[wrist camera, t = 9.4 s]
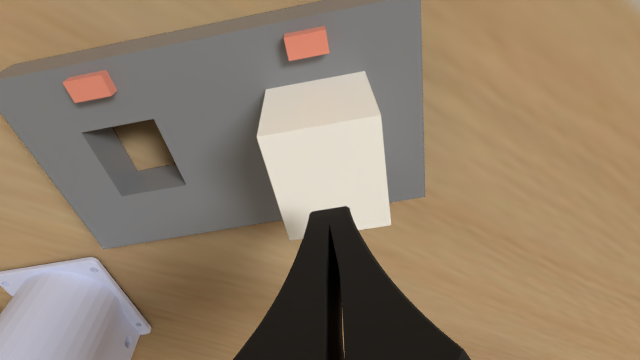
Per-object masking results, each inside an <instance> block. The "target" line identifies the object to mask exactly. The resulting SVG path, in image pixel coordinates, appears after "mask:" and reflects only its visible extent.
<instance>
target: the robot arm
mask: <svg viewBox="0 0 640 360" xmlns="http://www.w3.org/2000/svg"><path fill="white" fill-rule="evenodd" d="M0 286H2V287H3V288H4V289H5V290H6V291H7V292H8V293H9V294H10V295H11V296H12V299H11V300H10V302H9V303H8V304H7V306H6V307H5V308H4V310H3V311H2V312H1V314H0V360H131V358H132V355H133V352H134V350H135V347H136V345H137V342H138V339H139V337H140V335H144V334H149V333H150V331H151V326H150V325H149V324H148V322H147V321H146V320H145V319H144V317H143V316H142V315H141V314H140V312H139V311H138V310H137V308H136V307H135V306H134V305H133V303H132V302H131V301H130V300H129V298H128V297H127V296H126V294H125V293H124V292H123V291H122V289H121V288H120V287H119V286H118V284H117V283H116V282H115V280H114V279H113V278H112V277H111V275H110V274H109V273H108V272H107V270H106V269H105V268H104V266H103V265H102V264H101V263H100V261H99V260H98V259H96V258H94V257H87V258H81V259H75V260H69V261H63V262H57V263H50V264H44V265H38V266H32V267H26V268H19V269H13V270H7V271H1V272H0ZM342 311H343V329H344V349H343V335H342ZM344 351H345V358H344ZM233 360H471V359H470V358H469V356H468V355H467V353H466V352H465V351H464V349H463V348H461V347H460V346H459V345H458V344H457V343H455V342H454V341H453V340H452V339H450V338H449V337H448V336H447V335H446V334H444V333H443V332H442V331H441V330H440V329H439V328H437V327H436V326H435V325H434V324H433V323H432V322H431V321H430V320H429V319H428V318H426V317H425V316H424V315H423V314H422V313H421V312H420V311H419V310H418V309H417V308H416V307H415V306H414V305H413V304H412V303H411V302H410V301H409V300H408V299H407V297H406V296H405V295H404V294H403V293H402V292H401V291H400V290H399V288H398V287H397V286H396V285H395V284H394V283H393V281H392V280H391V279H390V278H389V277H388V275H387V274H386V273H385V271H384V270H383V269H382V267H381V266H380V265H379V263H378V262H377V260H376V259H375V258H374V256H373V255H372V253H371V251H370V250H369V248H368V247H367V245H366V243H365V242H364V240H363V238H362V237H361V235H360V233H359V231H358V229H357V227H356V225H355V223H354V220H353V218H352V215H351V212H350V208H349V207H347V206H343V207H337V208H331V209H325V210H318V211H312V212H311V213H310V214H309V219H308V223H307V227H306V230H305V234H304V237H303V240H302V243H301V245H300V248H299V251H298V253H297V256H296V258H295V261H294V263H293V265H292V267H291V270H290V272H289V274H288V276H287V278H286V280H285V282H284V284H283V286H282V288H281V290H280V292H279V294H278V296H277V297H276V299H275V301H274V303H273V304H272V306H271V307H270V309H269V311H268V312H267V314H266V315H265V317H264V319H263V320H262V322H261V323H260V325H259V326H258V327H257V329H256V330H255V332H254V333H253V334H252V336H251V337H250V338H249V340H248V341H247V342H246V344H245V345H244V346H243V348H242V349H241V350H240V352H239V353H238V354H237V355H236V356H235V358H234V359H233Z"/></svg>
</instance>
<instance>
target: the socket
mask: <svg viewBox="0 0 640 360" xmlns="http://www.w3.org/2000/svg"><path fill="white" fill-rule="evenodd" d="M362 71H365V73H366V76H367V78H368V81H369V84H370V86H371V89H372V92H373V95H374V97H375V100H376V103H377V105H378V108H379V111H380V114H381V120H382V131H383V142H384V153H385V164H386V175H387V186H388V197H389V203H390V202H396V201H402V200H408V199H415V198H421V197H425V166H424V122H423V79H422V36H421V0H323V1H319V2H314V3H309V4H304V5H299V6H294V7H290V8H285V9H280V10H275V11H270V12H266V13H261V14H256V15H251V16H246V17H241V18H237V19H232V20H227V21H222V22H217V23H212V24H208V25H203V26H198V27H193V28H188V29H183V30H179V31H174V32H169V33H164V34H159V35H154V36H150V37H145V38H140V39H135V40H130V41H125V42H121V43H116V44H111V45H106V46H101V47H97V48H92V49H87V50H82V51H77V52H72V53H68V54H63V55H58V56H53V57H48V58H43V59H39V60H34V61H29V62H24V63H19V64H14V65H11V66H10V67H8V68H6V69H4V70H3V71H1V72H0V113H1V114H2V116H3V117H4V118H5V119H6V121H7V122H8V123H9V125H10V126H11V127H12V129H13V130H14V131H15V133H16V134H17V135H18V137H19V138H20V139H21V141H22V142H23V143H24V145H25V146H26V147H27V149H28V150H29V151H30V153H31V154H32V155H33V157H34V158H35V159H36V161H37V162H38V163H39V164H40V166H41V167H42V168H43V170H44V171H45V172H46V174H47V175H48V176H49V178H50V179H51V180H52V182H53V183H54V184H55V186H56V187H57V188H58V190H59V191H60V192H61V194H62V195H63V196H64V198H65V199H66V200H67V202H68V203H69V204H70V206H71V207H72V208H73V209H74V211H75V212H76V213H77V215H78V216H79V217H80V219H81V220H82V221H83V223H84V224H85V225H86V227H87V228H88V229H89V231H90V232H91V233H92V235H93V236H94V237H95V239H96V240H97V241H98V243H99V244H100V245H101V247H102V248H103V249H108V248H114V247H120V246H126V245H132V244H138V243H144V242H151V241H157V240H163V239H169V238H175V237H181V236H187V235H194V234H200V233H206V232H212V231H218V230H224V229H230V228H237V227H243V226H249V225H255V224H261V223H267V222H273V221H280V220H283V218H282V215H281V212H280V209H279V206H278V203H277V199H276V196H275V193H274V190H273V187H272V184H271V181H270V178H269V174H268V171H267V168H266V165H265V162H264V159H263V156H262V153H261V149H260V146H259V143H258V140H257V132H258V127H259V122H260V117H261V112H262V107H263V102H264V97H265V91H266V89H271V88H276V87H281V86H287V85H292V84H298V83H303V82H308V81H314V80H319V79H324V78H330V77H335V76H341V75H346V74H351V73H357V72H362ZM151 119H154V121H155V123H156V125H157V127H158V129H159V131H160V133H161V135H162V137H163V139H164V141H165V143H166V145H167V147H168V149H169V151H170V153H171V155H172V157H173V159H174V161H175V163H176V164H174V165H168V166H162V167H157V168H151V169H146V170H140V171H137V169H136V168H135V166H134V164H133V162H132V161H131V159H130V157H129V155H128V154H127V152H126V150H125V149H124V147H123V145H122V143H121V142H120V140H119V138H118V136H117V135H116V133H115V131H114V129H113V128H112V127H114V126H119V125H124V124H130V123H135V122H140V121H145V120H151Z"/></svg>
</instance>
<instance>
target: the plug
mask: <svg viewBox="0 0 640 360" xmlns="http://www.w3.org/2000/svg"><path fill="white" fill-rule="evenodd" d="M257 140H258V143H259V146H260V149H261V153H262V156H263V159H264V162H265V165H266V168H267V171H268V174H269V178H270V181H271V184H272V187H273V190H274V193H275V196H276V199H277V203H278V206H279V209H280V212H281V215H282V218H283V221H284V225H285V228H286V231H287V234H288V237H289V240H290V241H291V240H298V239H303V237H304V234H305V230H306V227H307V223H308V219H309V214H310V213H311V212H312V211H318V210H325V209H331V208H337V207H343V206H347V207H349V208H350V212H351V215H352V218H353V220H354V223H355V225H356V227H357V229H358V230H362V229H369V228H375V227H382V226H388V225H391V219H390V208H389V197H388V186H387V175H386V164H385V153H384V142H383V131H382V120H381V114H380V111H379V108H378V105H377V103H376V100H375V97H374V95H373V92H372V89H371V86H370V84H369V81H368V78H367V76H366V73H365V71H362V72H357V73H351V74H346V75H341V76H335V77H330V78H324V79H319V80H314V81H308V82H303V83H298V84H292V85H287V86H281V87H276V88H271V89H266V91H265V97H264V102H263V107H262V112H261V117H260V122H259V127H258V132H257Z"/></svg>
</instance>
